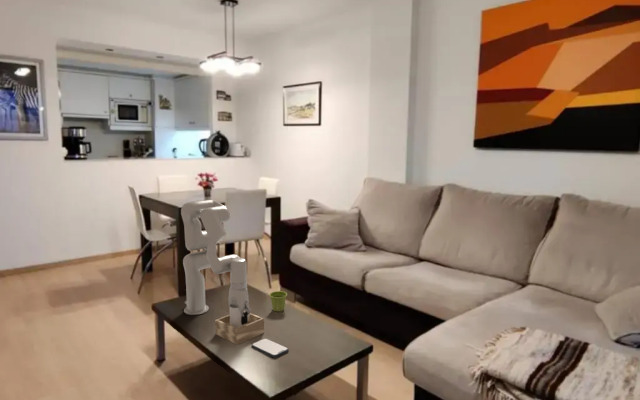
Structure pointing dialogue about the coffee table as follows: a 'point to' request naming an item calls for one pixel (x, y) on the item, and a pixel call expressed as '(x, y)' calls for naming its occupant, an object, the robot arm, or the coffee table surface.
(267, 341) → the smartphone
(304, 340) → the coffee table surface
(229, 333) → the open wooden crate
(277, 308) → the plant pot
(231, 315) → the mug
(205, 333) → the coffee table surface
